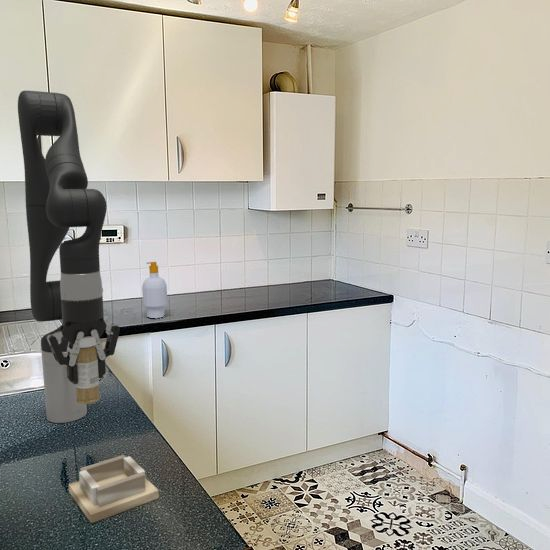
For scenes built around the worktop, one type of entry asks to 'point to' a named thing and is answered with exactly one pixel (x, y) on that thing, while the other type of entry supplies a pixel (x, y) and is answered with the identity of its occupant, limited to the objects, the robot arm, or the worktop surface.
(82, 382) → the sprinkles bottle
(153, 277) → the soap bottle
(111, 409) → the worktop surface
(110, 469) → the collar base
